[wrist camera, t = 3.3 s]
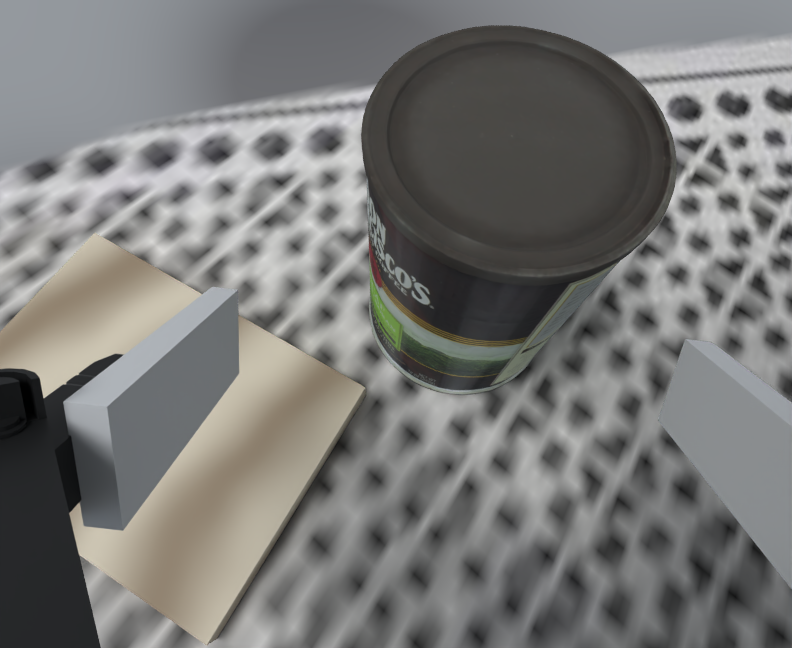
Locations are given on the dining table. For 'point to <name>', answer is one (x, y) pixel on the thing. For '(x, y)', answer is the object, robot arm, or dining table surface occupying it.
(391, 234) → the coffee can
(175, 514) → the plain beige board
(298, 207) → the dining table surface
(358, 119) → the dining table surface
